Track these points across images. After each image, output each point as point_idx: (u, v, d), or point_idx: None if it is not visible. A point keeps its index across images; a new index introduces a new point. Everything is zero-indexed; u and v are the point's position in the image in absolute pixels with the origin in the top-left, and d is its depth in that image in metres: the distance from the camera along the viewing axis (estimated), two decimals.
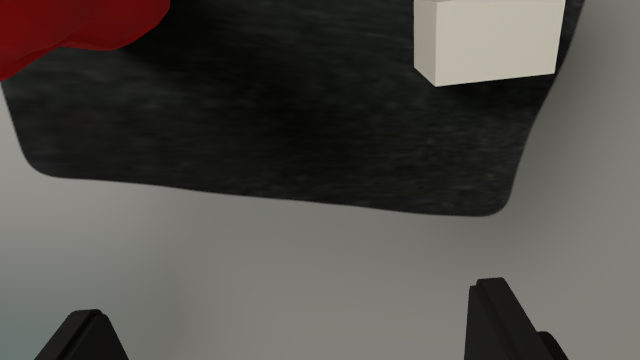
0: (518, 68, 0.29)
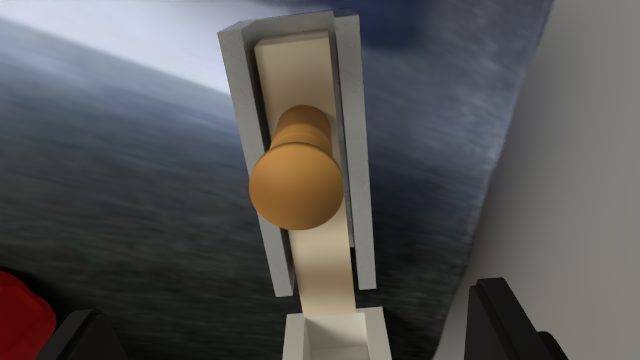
0: None
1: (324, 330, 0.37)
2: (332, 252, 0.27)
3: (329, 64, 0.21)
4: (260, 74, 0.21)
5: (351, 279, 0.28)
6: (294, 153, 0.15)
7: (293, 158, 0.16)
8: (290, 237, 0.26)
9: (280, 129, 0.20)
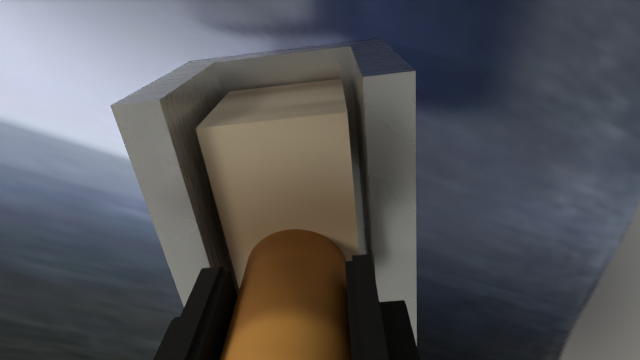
0: None
1: None
2: None
3: (347, 160, 0.11)
4: (211, 177, 0.11)
5: None
6: None
7: None
8: None
9: (243, 317, 0.09)
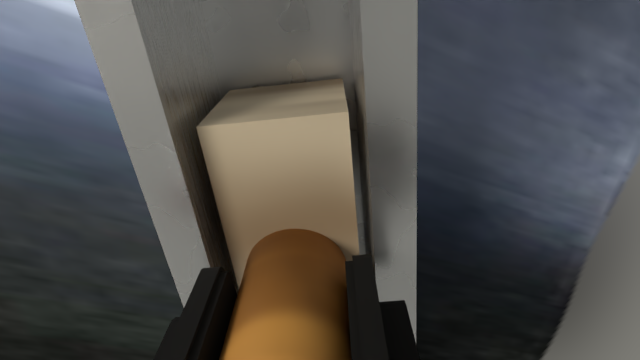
0: None
1: None
2: None
3: (348, 160, 0.11)
4: (211, 176, 0.11)
5: None
6: None
7: None
8: None
9: (243, 316, 0.09)
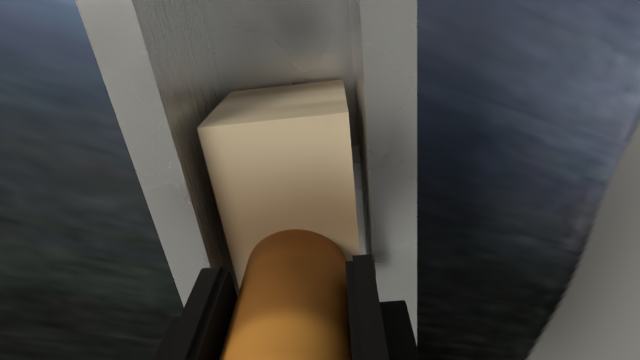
0: None
1: None
2: None
3: (348, 161, 0.11)
4: (212, 177, 0.11)
5: None
6: None
7: None
8: None
9: (243, 316, 0.09)
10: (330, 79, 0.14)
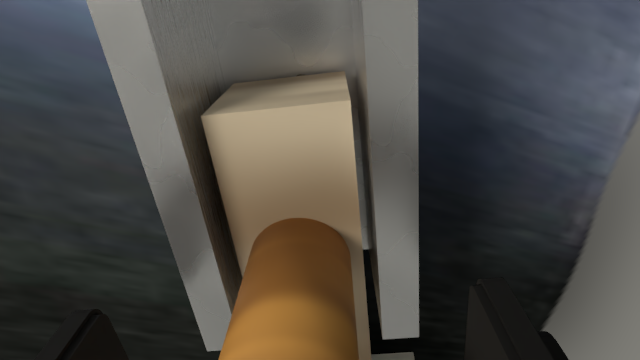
0: None
1: None
2: None
3: (350, 148, 0.11)
4: (216, 165, 0.11)
5: None
6: None
7: None
8: None
9: (247, 300, 0.09)
10: None
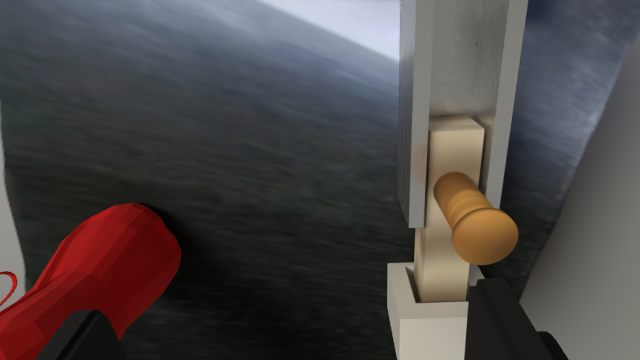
0: None
1: None
2: (454, 278, 0.35)
3: (481, 146, 0.30)
4: (431, 150, 0.30)
5: (464, 300, 0.36)
6: (491, 215, 0.24)
7: (490, 218, 0.24)
8: (425, 266, 0.35)
9: (454, 192, 0.28)
10: None
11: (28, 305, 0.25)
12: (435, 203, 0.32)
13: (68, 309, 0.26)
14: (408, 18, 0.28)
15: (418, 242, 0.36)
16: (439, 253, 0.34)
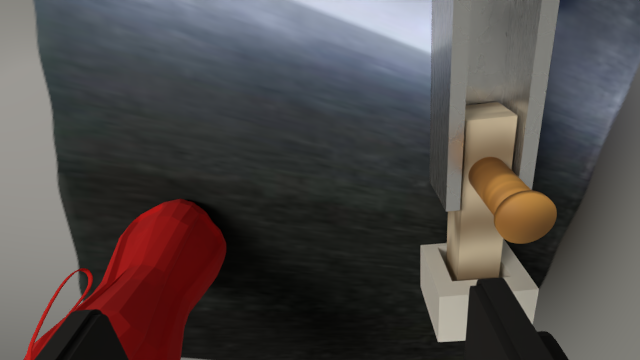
0: None
1: None
2: (488, 257, 0.37)
3: (514, 131, 0.32)
4: (466, 137, 0.32)
5: (497, 277, 0.38)
6: (532, 198, 0.26)
7: (530, 200, 0.26)
8: (460, 246, 0.37)
9: (491, 177, 0.30)
10: None
11: (108, 297, 0.28)
12: (470, 187, 0.34)
13: (143, 300, 0.29)
14: (443, 13, 0.29)
15: (452, 224, 0.39)
16: (473, 233, 0.36)
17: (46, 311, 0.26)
